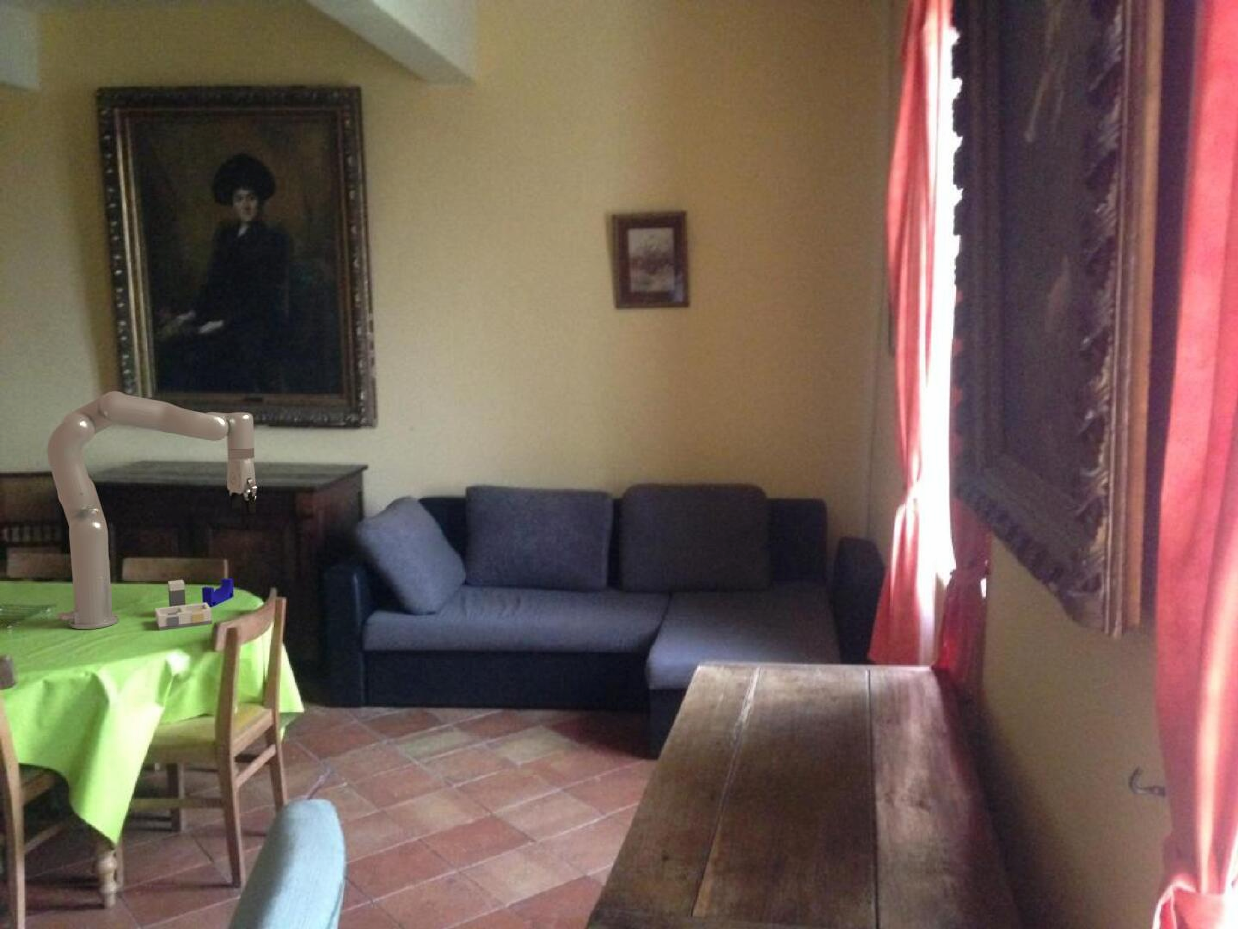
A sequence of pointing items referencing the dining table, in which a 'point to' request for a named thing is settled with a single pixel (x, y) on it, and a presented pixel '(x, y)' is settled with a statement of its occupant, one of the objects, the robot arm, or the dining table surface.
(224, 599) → the blue notched block
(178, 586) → the plug
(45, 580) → the dining table surface
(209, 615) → the socket strip
